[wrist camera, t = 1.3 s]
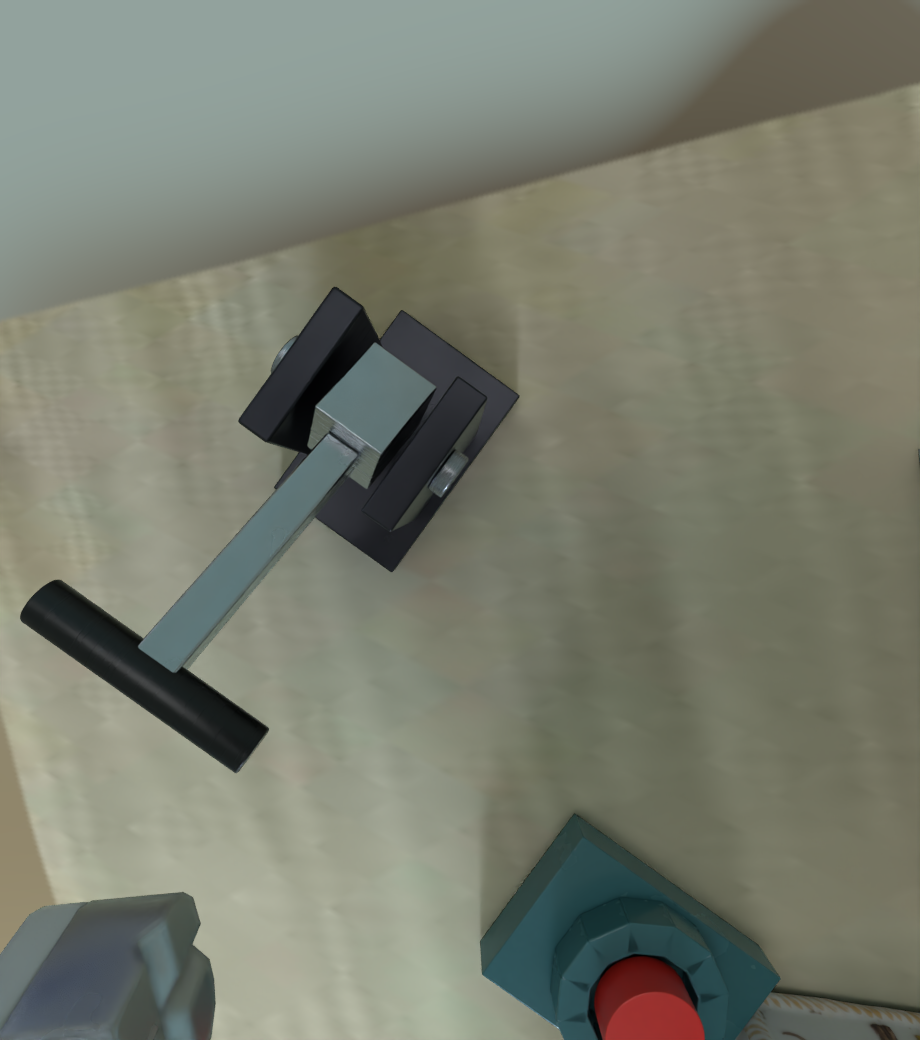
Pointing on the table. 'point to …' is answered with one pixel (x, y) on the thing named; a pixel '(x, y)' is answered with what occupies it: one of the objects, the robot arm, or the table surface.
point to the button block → (616, 938)
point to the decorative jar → (827, 1021)
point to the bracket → (426, 454)
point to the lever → (240, 564)
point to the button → (645, 1003)
